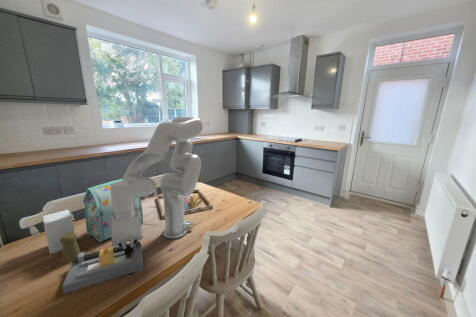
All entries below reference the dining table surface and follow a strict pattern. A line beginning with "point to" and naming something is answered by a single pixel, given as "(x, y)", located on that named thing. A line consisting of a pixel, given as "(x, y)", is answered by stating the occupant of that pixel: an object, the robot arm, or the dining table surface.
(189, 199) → the spice collection
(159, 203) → the tray
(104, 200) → the lunch bag
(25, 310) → the dining table surface
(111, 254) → the breaker toggle
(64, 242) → the cork
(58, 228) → the supplement box
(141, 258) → the grey slider switch base
